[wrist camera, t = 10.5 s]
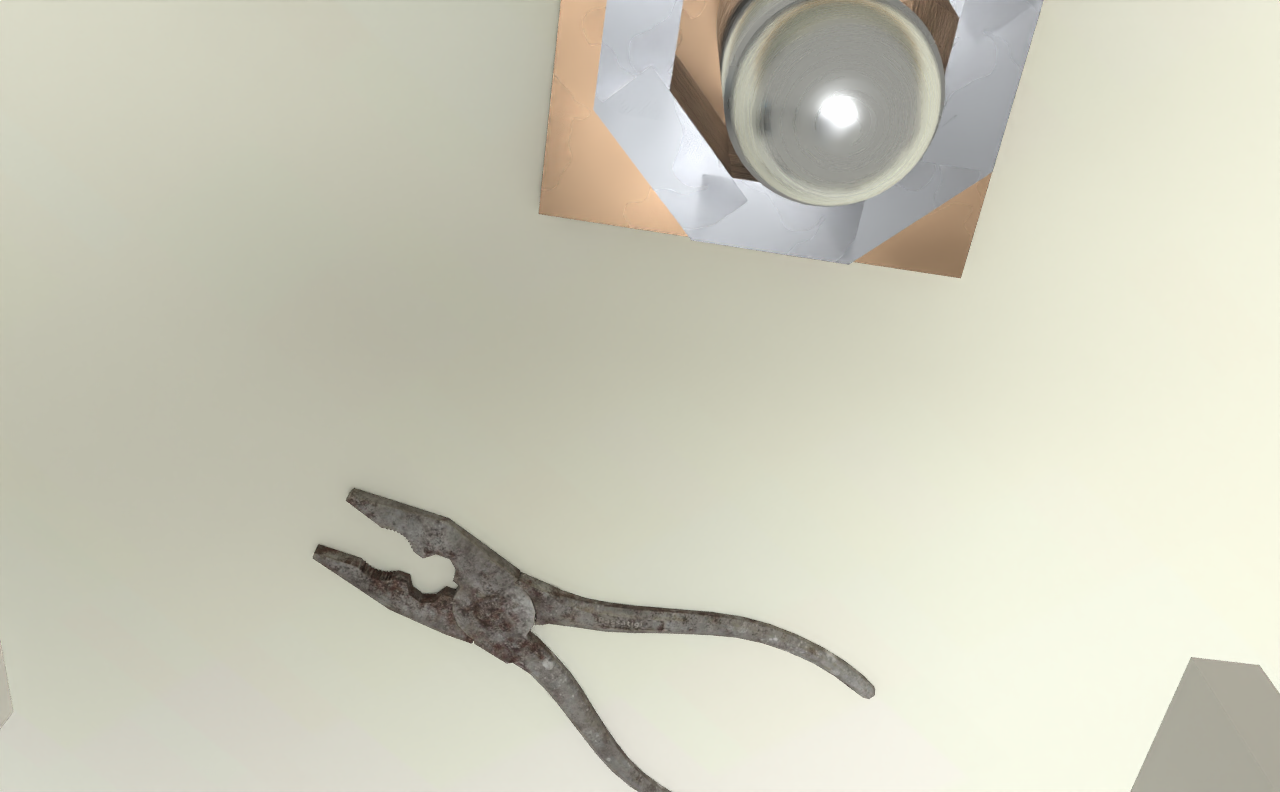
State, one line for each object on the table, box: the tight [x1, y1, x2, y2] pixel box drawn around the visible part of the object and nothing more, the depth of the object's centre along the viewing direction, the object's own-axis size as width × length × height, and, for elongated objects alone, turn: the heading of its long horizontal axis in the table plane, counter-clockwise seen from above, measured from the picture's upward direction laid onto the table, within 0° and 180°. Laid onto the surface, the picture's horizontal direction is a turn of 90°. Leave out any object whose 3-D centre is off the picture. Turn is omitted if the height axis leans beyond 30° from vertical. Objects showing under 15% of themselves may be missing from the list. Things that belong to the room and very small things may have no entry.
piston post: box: [539, 0, 992, 278], centre depth 23 cm, size 12×12×12 cm
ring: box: [593, 0, 1043, 264], centre depth 26 cm, size 9×9×5 cm
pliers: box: [313, 488, 875, 792], centre depth 39 cm, size 10×1×20 cm
